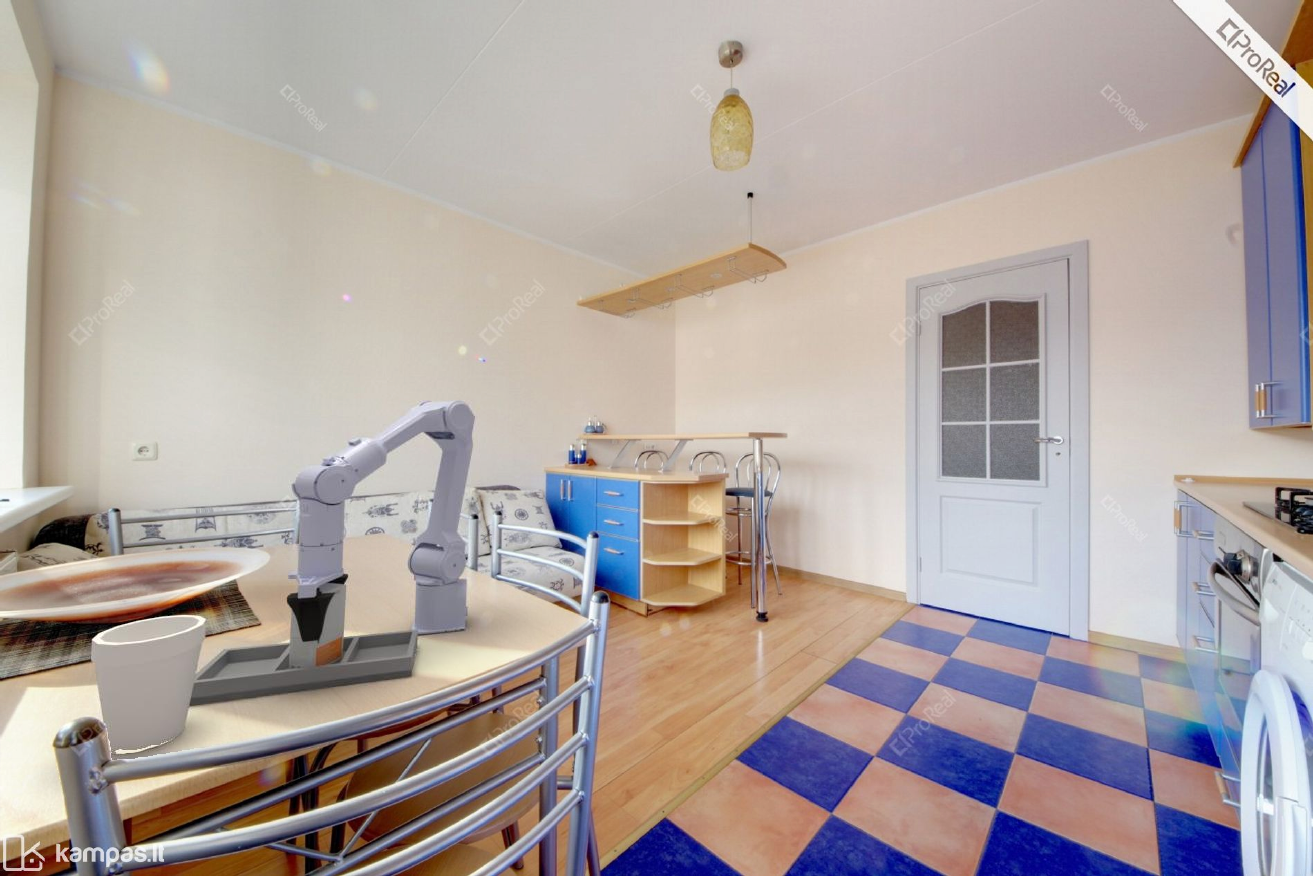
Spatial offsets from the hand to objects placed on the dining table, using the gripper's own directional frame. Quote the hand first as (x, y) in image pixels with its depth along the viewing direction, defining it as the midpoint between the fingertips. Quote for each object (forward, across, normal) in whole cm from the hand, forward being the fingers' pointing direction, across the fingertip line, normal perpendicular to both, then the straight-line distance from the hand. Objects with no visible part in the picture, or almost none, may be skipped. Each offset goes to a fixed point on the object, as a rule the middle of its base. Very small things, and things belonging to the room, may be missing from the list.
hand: (318, 630), depth 76 cm
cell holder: (+6, 0, 0) cm, 6 cm away
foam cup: (+7, +13, -14) cm, 20 cm away
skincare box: (+6, 0, 0) cm, 6 cm away
